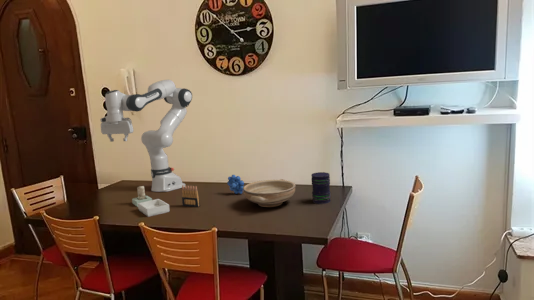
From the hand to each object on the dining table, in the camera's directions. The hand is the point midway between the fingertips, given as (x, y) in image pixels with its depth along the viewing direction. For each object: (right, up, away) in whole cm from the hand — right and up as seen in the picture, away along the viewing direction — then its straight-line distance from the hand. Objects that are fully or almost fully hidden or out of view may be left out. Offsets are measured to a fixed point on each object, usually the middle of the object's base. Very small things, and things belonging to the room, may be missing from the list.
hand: (118, 141), depth 248 cm
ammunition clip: (+46, -37, -14) cm, 60 cm away
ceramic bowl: (+90, -35, -19) cm, 98 cm away
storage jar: (+118, -33, -22) cm, 124 cm away
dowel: (+15, -37, -2) cm, 40 cm away
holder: (+15, -37, -2) cm, 39 cm away
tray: (+26, -39, -19) cm, 50 cm away
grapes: (+69, -32, +4) cm, 76 cm away
